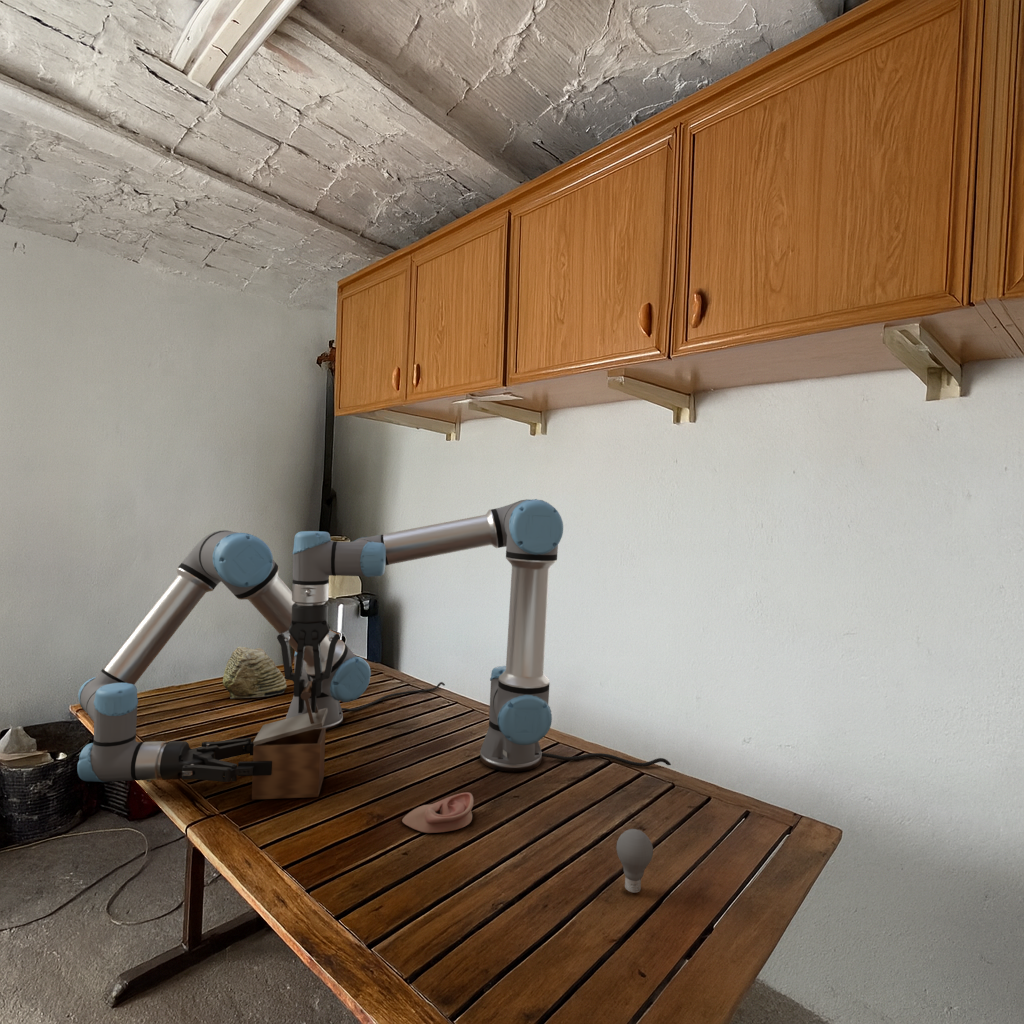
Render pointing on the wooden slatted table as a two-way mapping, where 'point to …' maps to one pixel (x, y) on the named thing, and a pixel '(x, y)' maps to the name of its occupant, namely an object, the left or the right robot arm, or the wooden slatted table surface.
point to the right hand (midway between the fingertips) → (307, 710)
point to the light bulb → (634, 857)
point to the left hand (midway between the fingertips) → (276, 757)
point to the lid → (293, 722)
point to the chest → (291, 766)
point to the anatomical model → (442, 814)
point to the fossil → (252, 674)
